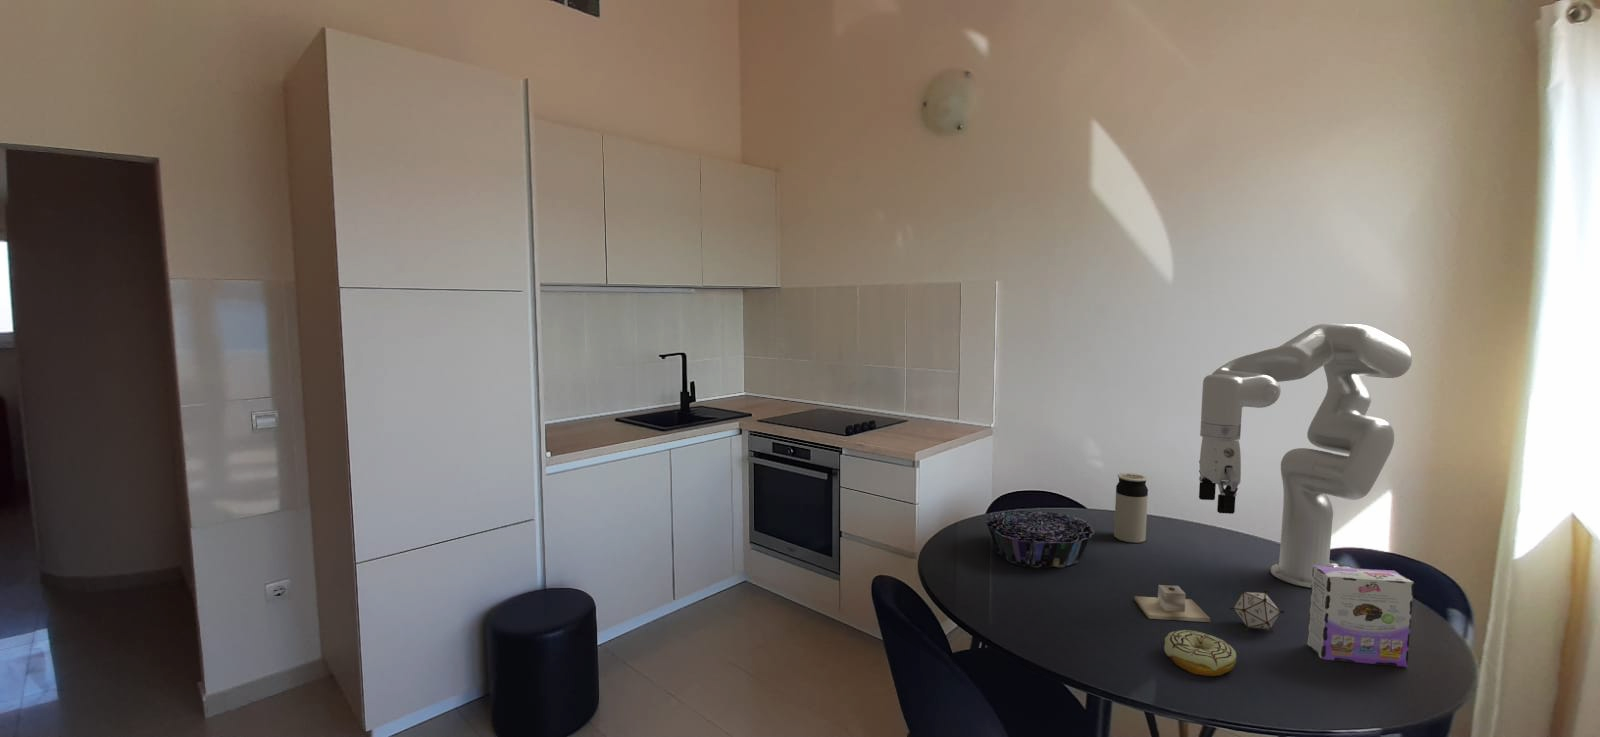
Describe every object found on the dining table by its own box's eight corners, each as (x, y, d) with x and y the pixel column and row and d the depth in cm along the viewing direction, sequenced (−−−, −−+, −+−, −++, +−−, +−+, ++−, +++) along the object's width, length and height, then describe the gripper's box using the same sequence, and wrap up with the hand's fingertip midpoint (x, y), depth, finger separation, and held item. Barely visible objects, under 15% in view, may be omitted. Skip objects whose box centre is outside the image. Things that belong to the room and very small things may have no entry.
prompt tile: (1191, 602, 148) (1192, 581, 148) (1210, 622, 139) (1211, 599, 139) (1134, 599, 150) (1135, 578, 150) (1149, 618, 141) (1150, 596, 141)
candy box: (1388, 652, 127) (1395, 569, 126) (1408, 668, 122) (1416, 582, 120) (1305, 644, 131) (1311, 563, 129) (1321, 660, 125) (1328, 575, 123)
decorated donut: (1155, 662, 125) (1156, 642, 124) (1175, 640, 133) (1176, 620, 132) (1225, 687, 117) (1226, 665, 116) (1241, 661, 125) (1243, 640, 124)
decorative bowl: (977, 543, 191) (975, 509, 190) (1074, 536, 190) (1072, 502, 189) (1001, 580, 165) (999, 541, 164) (1113, 572, 164) (1112, 533, 163)
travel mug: (1150, 543, 184) (1154, 480, 182) (1122, 543, 184) (1124, 480, 182) (1136, 533, 192) (1139, 472, 190) (1109, 533, 192) (1111, 472, 190)
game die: (1263, 650, 135) (1283, 627, 129) (1218, 624, 140) (1236, 601, 133) (1276, 618, 140) (1296, 594, 133) (1232, 594, 144) (1250, 570, 138)
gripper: (1258, 439, 138) (1253, 519, 140) (1221, 423, 155) (1217, 495, 157) (1218, 438, 139) (1214, 517, 141) (1186, 423, 156) (1182, 494, 158)
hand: (1215, 506), depth 149 cm, fingers open, 9 cm apart
